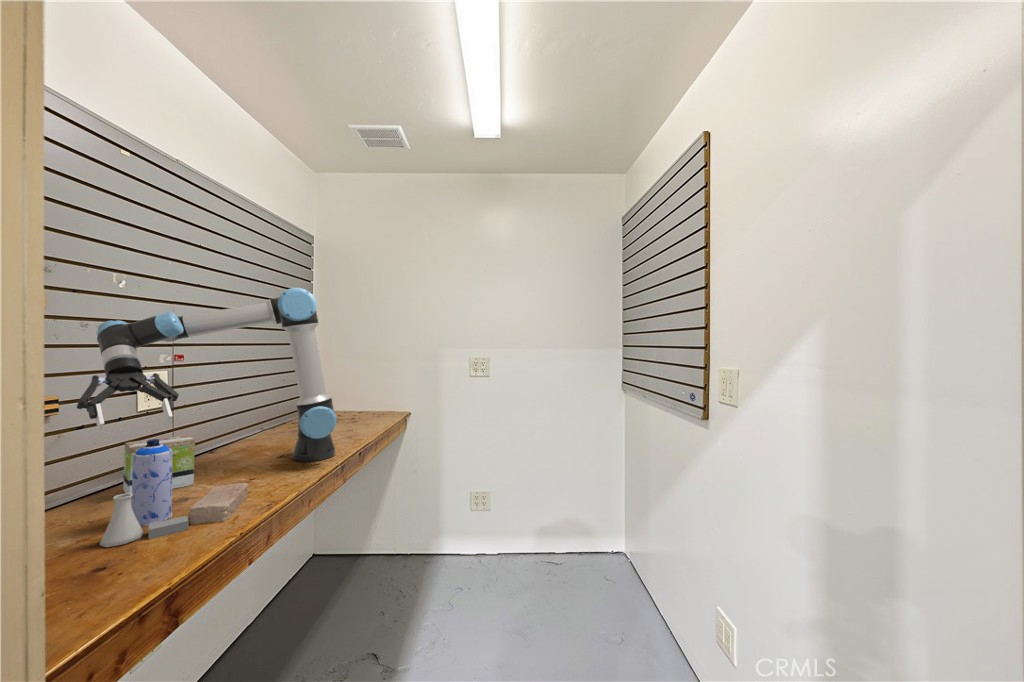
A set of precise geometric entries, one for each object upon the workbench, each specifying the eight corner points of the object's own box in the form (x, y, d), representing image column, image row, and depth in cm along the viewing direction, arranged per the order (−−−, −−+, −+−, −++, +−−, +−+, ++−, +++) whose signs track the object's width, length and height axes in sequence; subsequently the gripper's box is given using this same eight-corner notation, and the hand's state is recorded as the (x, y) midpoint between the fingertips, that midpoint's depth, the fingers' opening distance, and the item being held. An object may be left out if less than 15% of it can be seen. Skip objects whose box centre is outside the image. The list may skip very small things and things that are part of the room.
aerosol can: (177, 517, 101) (178, 438, 101) (136, 529, 94) (137, 445, 95) (165, 510, 105) (166, 435, 105) (125, 521, 99) (126, 441, 99)
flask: (141, 529, 94) (141, 487, 95) (146, 539, 90) (147, 494, 90) (97, 541, 89) (98, 496, 89) (101, 551, 84) (101, 504, 84)
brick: (226, 522, 99) (227, 503, 99) (186, 526, 96) (186, 507, 97) (249, 498, 115) (249, 481, 115) (214, 501, 112) (215, 484, 112)
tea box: (128, 499, 113) (129, 447, 113) (122, 491, 119) (123, 442, 119) (194, 485, 124) (195, 437, 125) (186, 478, 131) (186, 433, 131)
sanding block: (187, 525, 97) (187, 515, 97) (188, 531, 94) (188, 520, 94) (148, 534, 92) (148, 524, 92) (148, 541, 89) (148, 529, 90)
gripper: (173, 371, 126) (190, 424, 117) (54, 375, 105) (65, 440, 97) (180, 355, 123) (198, 408, 115) (59, 356, 102) (70, 420, 94)
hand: (137, 423), depth 106 cm, fingers open, 13 cm apart
